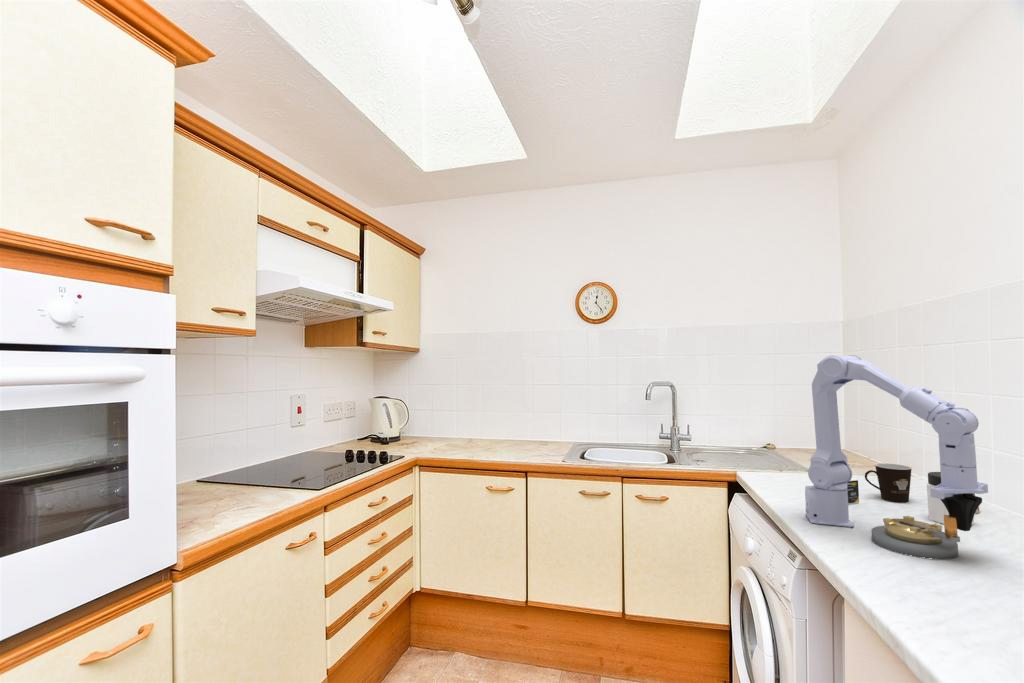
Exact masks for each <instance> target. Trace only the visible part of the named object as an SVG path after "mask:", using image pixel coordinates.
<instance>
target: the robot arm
mask: <svg viewBox="0 0 1024 683" xmlns="http://www.w3.org/2000/svg"><path fill="white" fill-rule="evenodd" d="M816 366H817V367H816V368H817V371H816V373H815V375H814V378H813V380H812V381H811V394H812V396H811V397H812V404H813V420H814V432H815V434H814V435H815V446H816V448H815V449H816V450H815V451H814V453H813V454H812V455H811V457H810V464H809V465H810V466H809V467H808V470H807V475H808V479H809V480H810V482H811V483H812V484H813V485H806V486H805V488H804V494H805V495H804V496H805V515H806V517H807V519H808V520H809V522H810V523H811V524H815V525H816V524H818V525H827V526H838V527H847V528H854V527H855V525H854V524H853V522H852V521H851V520H850V518H849V517H850V515H849V512H850V511H849V504H848V493H847V487H848V486H847V483H848V482H849V481H850V480H851V478H853V471H852V468H851V465H850V466H849V465H848V463H849V462H848V456H846V454H845V453H844V452H843V451H842V444H841V434H840V433H841V432H840V422H839V421H840V418H839V409H838V397H837V396H838V395H837V391H839V390H840V389H841V388H842V387H843V386H845V384H847V383H849V382H852V381H855V380H856V381H865V382H867V383H869V384H871V385H873V386H875V387H877V388H878V389H880V390H881V391H884V392H886V393H888V394H890V396H894V397H895V398H897V399H898V400H899V404H900V407H902V408H904V409H905V410H906V411H908V412H910V413H912V414H914V415H915V416H916V417H918V418H920V419H921V420H923V421H925V422H927V423H929V424H931V427H932V429H933V430H934V431H935V432H936V433H937V434H938V449H939V450H938V452H939V453H938V454H939V464H940V465H939V468H940V471H939V472H941V483H940V484H939V485H937V486H936V487H933V488H930V490H931V497H933V498H938V499H940V500H941V501H942V502H943V504H944V505H945V507H946V509H947V510H948V513H949V515H951V516H955V517H957V530H959V531H963V532H970V530H971V528H972V526H973V525H972V521H973V517H974V518H975V515H976V514H975V512H976V510H977V508H978V507H979V508H980V505H981V504H982V503H983V498H982V497H981V496H976V494H978V495H983V494H988V493H989V485H988V484H987V483H984V482H980V481H979V482H978V472H977V454H976V444H975V432H976V431H977V430H978V427H979V423H980V422H979V419H978V418H977V415H975V414H974V413H973V412H971V411H970V410H969V409H968V408H964V407H955V405H956V404H955V403H954V402H951V401H945V400H944V399H942V398H940V397H938V396H936V395H935V394H933V390H932V389H930V388H928V387H921V386H916V387H915V386H914V387H913V386H912V387H909V386H908V385H906V384H904V383H903V382H901V381H900V380H898V379H897V378H895V377H893V376H892V375H891V374H888V373H887V372H885V371H884V370H882V369H880V368H879V367H877V365H876V366H875V365H874V364H873V363H872V362H870V361H869V360H866V359H863V358H861V357H860V356H858V355H856V354H855V355H854V354H849V355H833V354H832V355H831V354H830V355H828V356H826V357H824V358H823V359H822V360H820V361H819V362H818V363H817V365H816ZM974 493H975V496H973V494H974Z"/></svg>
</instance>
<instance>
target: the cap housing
mask: <svg viewBox="0 0 1024 683" xmlns="http://www.w3.org/2000/svg"><path fill="white" fill-rule="evenodd" d="M870 530H871V532H870V533H871V540H872V542H873V543H874V544H876V546H879V547H881V548H883V549H886V550H888V551H890V552H894V553H897V552H898V553H897V554H901V553H902V555H905V554H907V555H906V556H909V555H912V556H911V557H914V556H916V557H915V558H920V557H925V558H924V559H927V558H932V559H931V560H951V559H952V560H953V559H955V558H957V557H959V546H958V545H959V544H958V542H955V543H953V542H950V541H947V540H944V539H942V543H941V544H936V545H924V544H916V543H910V542H905V541H901V540H898V539H895V538H892V537H890V536H888V535H887V534H885V528H884V525H878V526H875V527H873V528H871V529H870Z"/></svg>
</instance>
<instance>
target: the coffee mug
mask: <svg viewBox="0 0 1024 683" xmlns="http://www.w3.org/2000/svg"><path fill="white" fill-rule="evenodd" d="M874 465H875V466H874V467H875V470H873V469H871V470H867V471H866V472H865V473H864V479H865V481H866V482H867V483H868V484H869V485H871V486H872V487H874V488H876V489H877V490H879V491H880V497H881V498H880V499H881V500H884V501H886V502H890V503H895V504H896V503H897V504H898V503H899V504H907V503H909V502H910V491H911V479H912V470H913V469H912V467H910V466H908V465H903V464H895V463H875V464H874ZM870 473H874V474H876V476H877V482H878V486H877V485H876V484H874V483H872V482H871V480H869V478H868V475H869V474H870Z"/></svg>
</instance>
